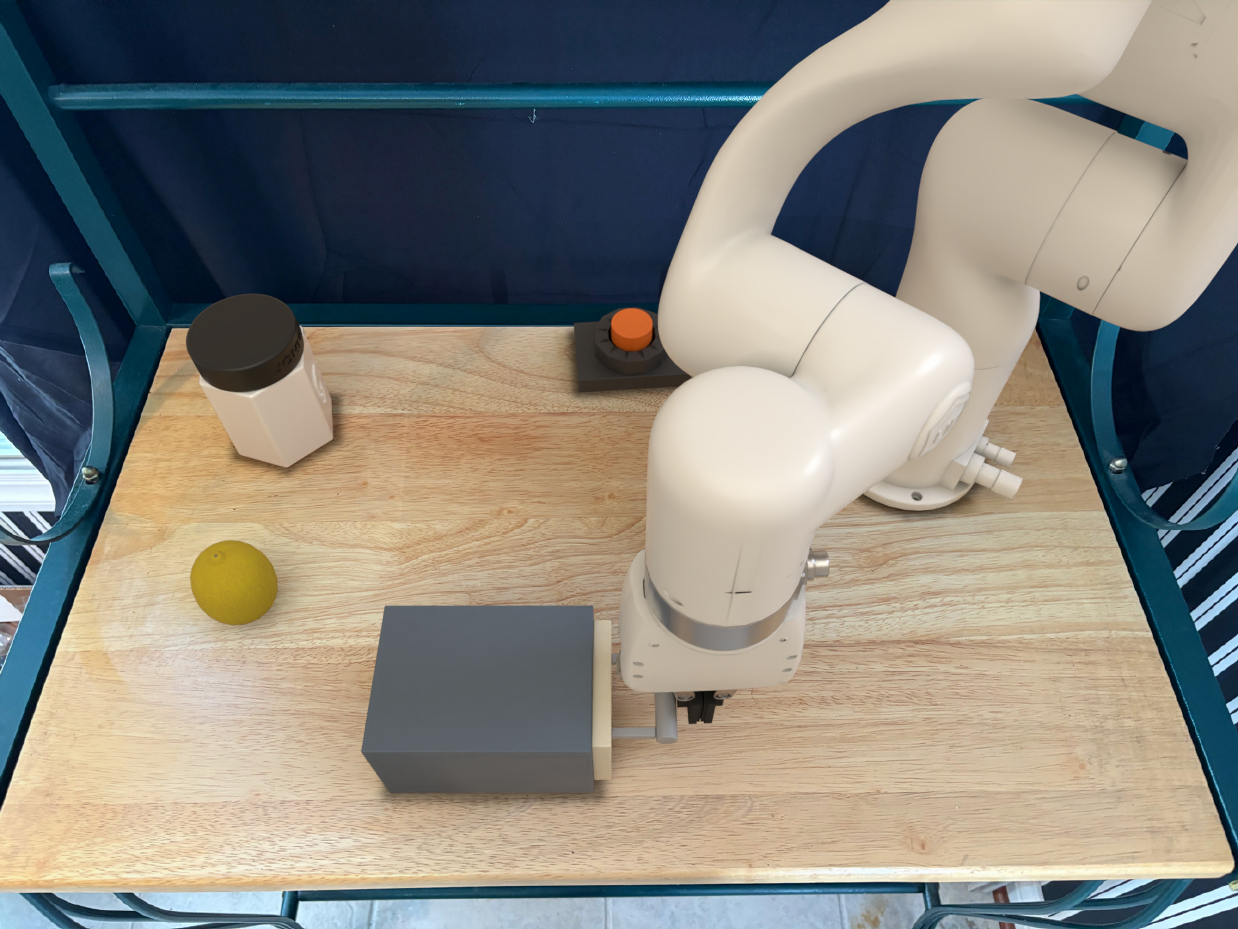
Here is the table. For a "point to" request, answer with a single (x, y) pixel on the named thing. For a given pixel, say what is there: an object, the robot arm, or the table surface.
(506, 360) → the table surface
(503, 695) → the cabinet
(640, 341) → the button
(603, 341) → the control block
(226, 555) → the lemon
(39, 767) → the table surface
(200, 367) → the jar
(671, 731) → the drawer
